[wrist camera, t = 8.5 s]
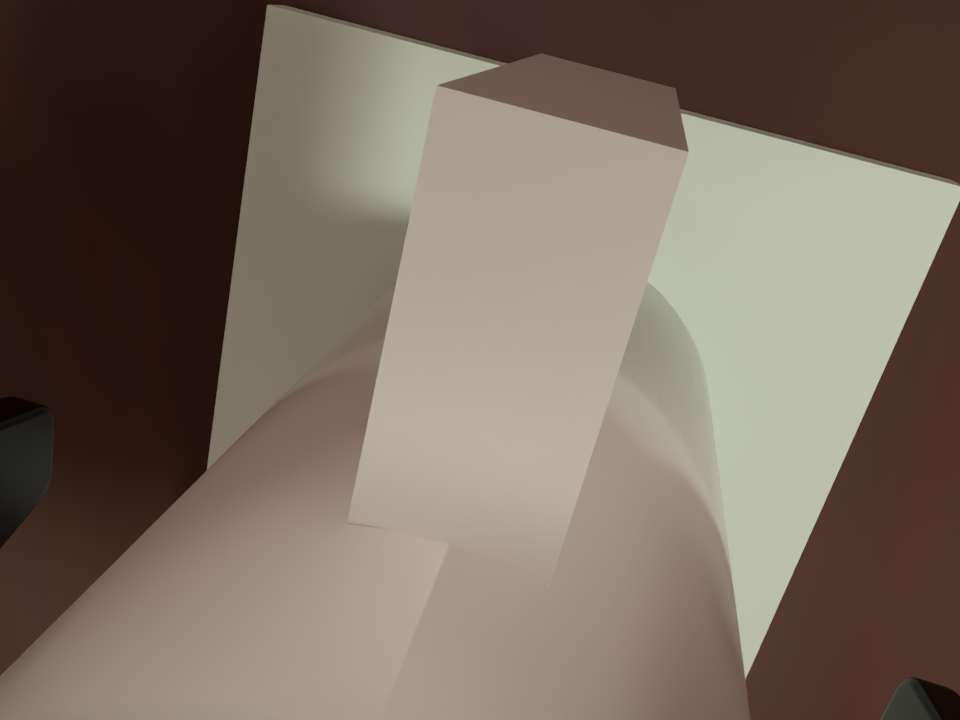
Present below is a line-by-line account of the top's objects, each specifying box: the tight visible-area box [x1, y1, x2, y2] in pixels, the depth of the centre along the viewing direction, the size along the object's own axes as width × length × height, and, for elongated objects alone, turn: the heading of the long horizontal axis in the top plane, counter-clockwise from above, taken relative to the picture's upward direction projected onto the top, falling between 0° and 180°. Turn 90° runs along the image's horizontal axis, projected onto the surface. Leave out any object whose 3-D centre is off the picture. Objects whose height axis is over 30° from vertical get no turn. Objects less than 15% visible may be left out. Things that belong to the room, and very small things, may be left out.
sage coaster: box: [207, 5, 960, 679], centre depth 13 cm, size 9×9×1 cm
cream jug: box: [0, 54, 750, 720], centre depth 8 cm, size 8×5×9 cm
